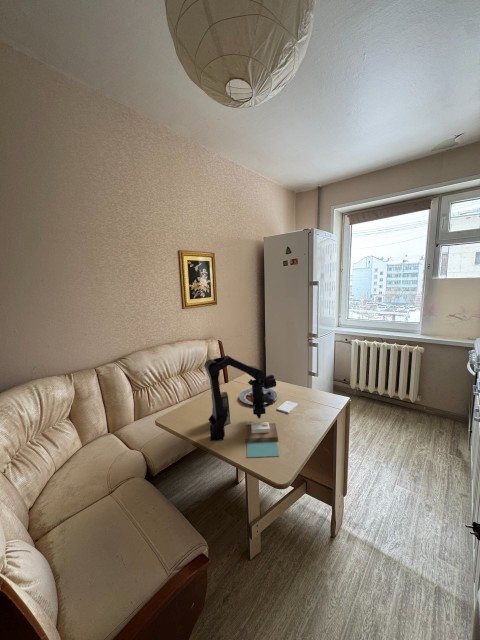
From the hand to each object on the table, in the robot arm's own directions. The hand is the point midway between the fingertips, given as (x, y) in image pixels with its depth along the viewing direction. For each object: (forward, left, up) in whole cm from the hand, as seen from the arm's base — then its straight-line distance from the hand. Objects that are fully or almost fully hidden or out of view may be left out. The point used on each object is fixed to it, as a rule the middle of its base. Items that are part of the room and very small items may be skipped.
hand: (259, 418), depth 132 cm
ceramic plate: (+1, +31, -4) cm, 31 cm away
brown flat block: (0, -10, -3) cm, 10 cm away
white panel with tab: (0, -9, -1) cm, 9 cm away
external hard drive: (+18, +16, -4) cm, 24 cm away
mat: (0, -21, -3) cm, 22 cm away
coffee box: (-21, +4, -4) cm, 22 cm away
